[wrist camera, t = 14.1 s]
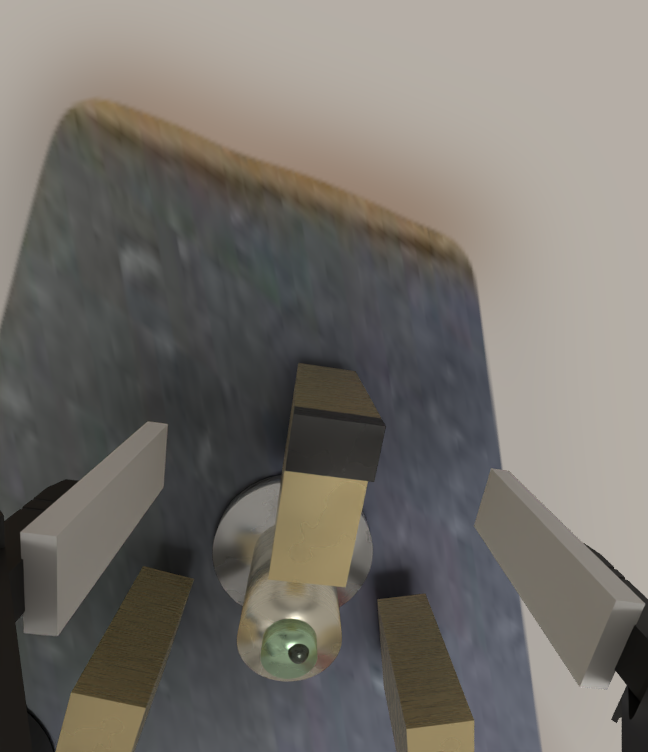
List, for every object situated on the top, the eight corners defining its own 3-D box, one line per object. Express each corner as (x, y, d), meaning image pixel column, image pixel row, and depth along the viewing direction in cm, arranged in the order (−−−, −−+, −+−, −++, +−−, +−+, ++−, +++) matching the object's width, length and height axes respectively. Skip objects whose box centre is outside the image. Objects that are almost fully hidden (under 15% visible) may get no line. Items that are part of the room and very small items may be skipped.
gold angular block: (143, 566, 22) (58, 714, 14) (194, 579, 22) (137, 730, 15) (116, 657, 24) (26, 835, 16) (164, 668, 24) (99, 847, 16)
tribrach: (152, 599, 25) (82, 743, 18) (167, 377, 22) (88, 432, 14) (406, 622, 27) (448, 765, 19) (459, 418, 23) (538, 489, 15)
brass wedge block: (377, 599, 23) (411, 751, 16) (425, 593, 23) (482, 741, 16) (383, 686, 25) (417, 860, 18) (428, 680, 25) (481, 851, 18)
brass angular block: (332, 490, 21) (347, 604, 14) (280, 484, 21) (266, 596, 14) (355, 371, 20) (385, 426, 12) (298, 363, 20) (293, 413, 12)
